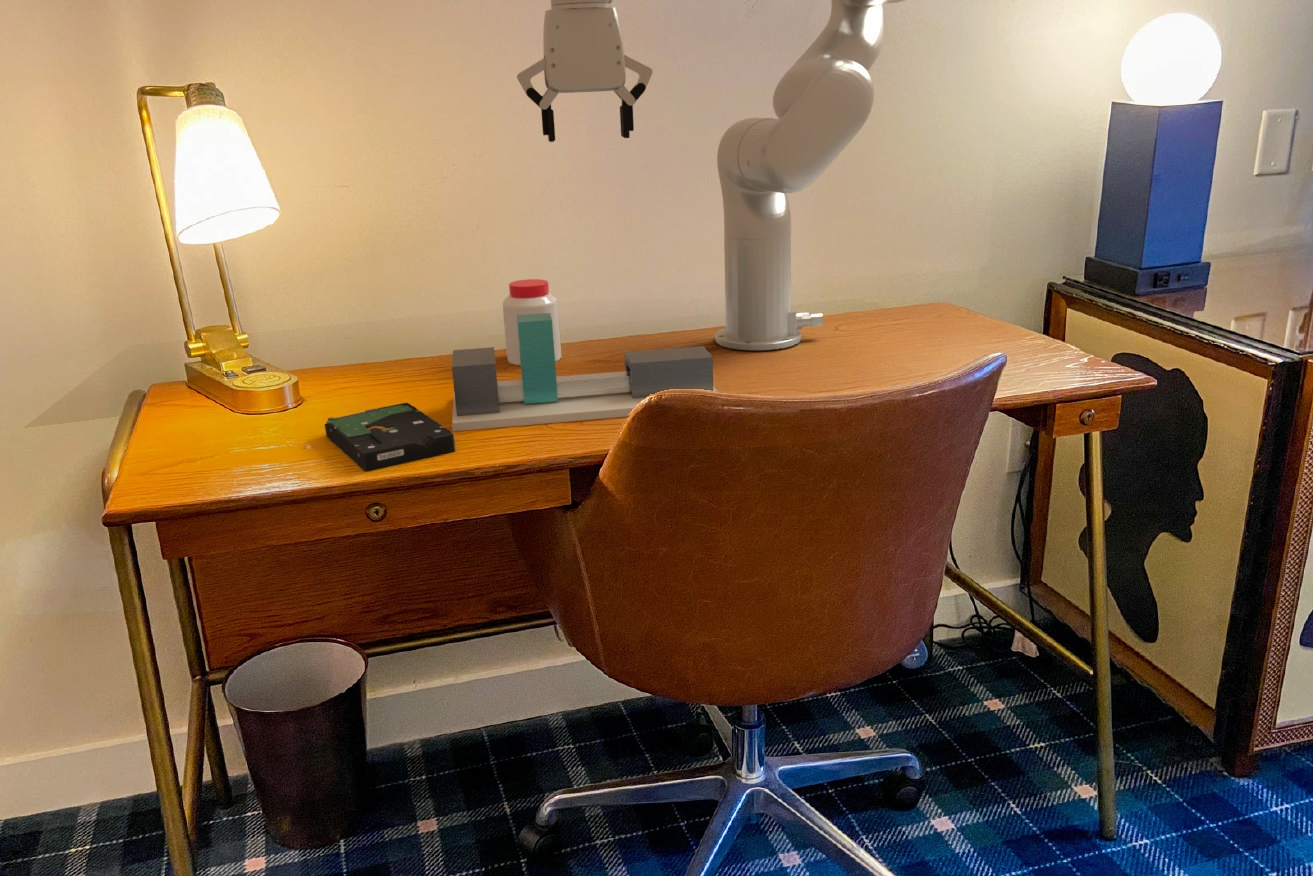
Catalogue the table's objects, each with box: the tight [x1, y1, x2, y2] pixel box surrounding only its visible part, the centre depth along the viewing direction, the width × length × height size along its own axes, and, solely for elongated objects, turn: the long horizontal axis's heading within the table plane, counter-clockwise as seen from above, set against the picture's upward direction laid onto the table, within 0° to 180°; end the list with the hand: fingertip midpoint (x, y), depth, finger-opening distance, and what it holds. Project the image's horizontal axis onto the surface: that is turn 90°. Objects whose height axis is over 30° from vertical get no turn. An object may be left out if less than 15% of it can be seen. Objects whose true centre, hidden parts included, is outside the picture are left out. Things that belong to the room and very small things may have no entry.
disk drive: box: [324, 402, 456, 473], centre depth 119 cm, size 10×3×15 cm
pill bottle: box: [502, 278, 562, 366], centre depth 151 cm, size 8×8×11 cm
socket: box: [451, 346, 500, 416], centre depth 128 cm, size 5×8×6 cm, turn 9°
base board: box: [451, 385, 718, 432], centre depth 131 cm, size 32×13×1 cm, turn 99°
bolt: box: [497, 313, 631, 404], centre depth 129 cm, size 21×4×10 cm, turn 99°
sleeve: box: [624, 345, 714, 399], centre depth 131 cm, size 10×6×4 cm, turn 99°
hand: (588, 139), depth 138 cm, fingers open, 9 cm apart
